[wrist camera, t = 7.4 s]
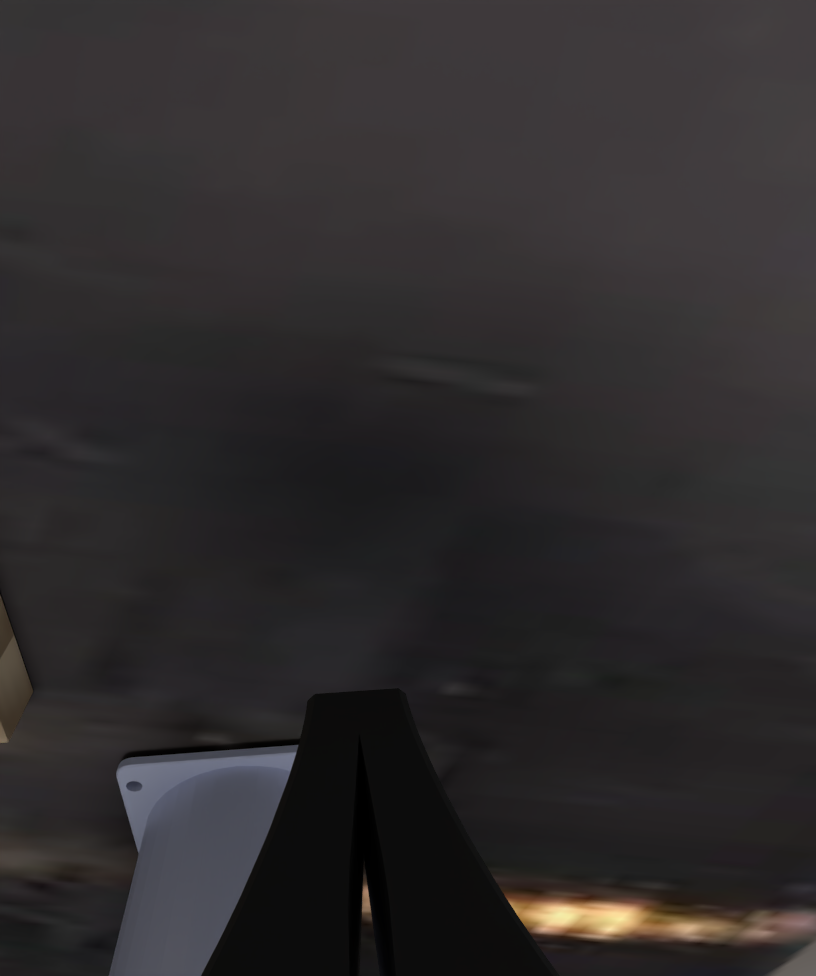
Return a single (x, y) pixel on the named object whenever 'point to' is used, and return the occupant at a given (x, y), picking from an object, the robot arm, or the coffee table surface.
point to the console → (11, 679)
